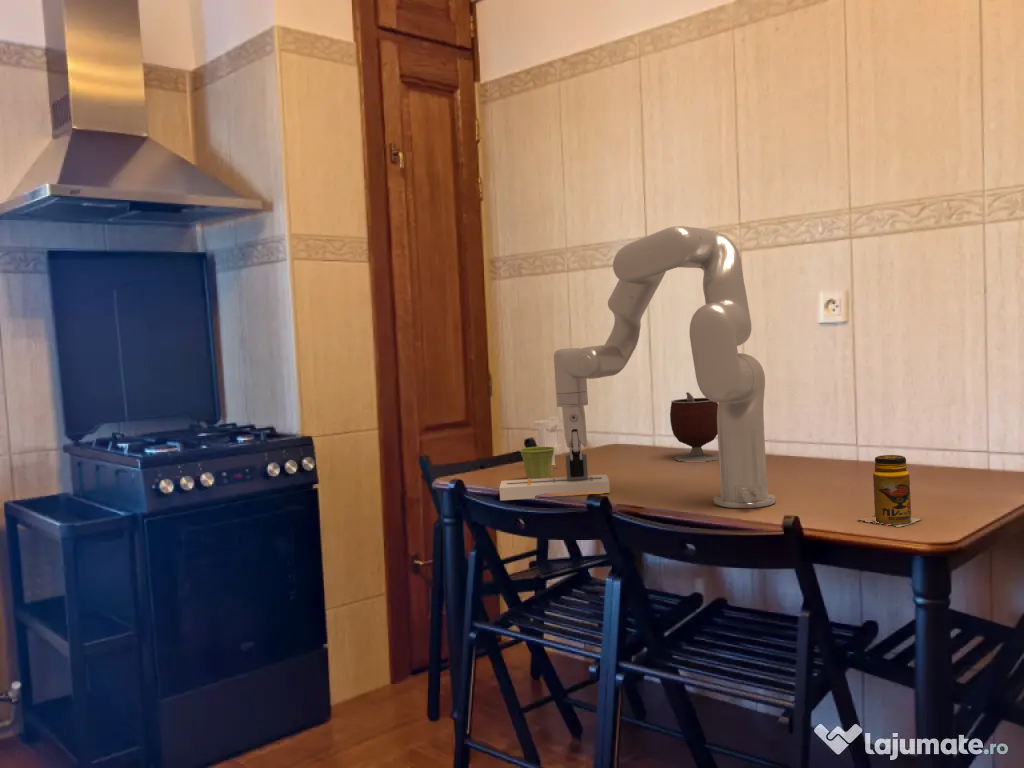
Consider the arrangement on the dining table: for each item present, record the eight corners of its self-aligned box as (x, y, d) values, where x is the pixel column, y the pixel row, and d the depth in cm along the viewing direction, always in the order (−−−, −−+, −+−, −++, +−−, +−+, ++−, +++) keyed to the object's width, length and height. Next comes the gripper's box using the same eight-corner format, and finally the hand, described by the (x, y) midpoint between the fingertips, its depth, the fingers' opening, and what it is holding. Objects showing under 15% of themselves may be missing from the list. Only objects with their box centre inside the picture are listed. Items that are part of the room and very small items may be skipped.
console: (610, 493, 199) (609, 480, 199) (500, 500, 201) (499, 487, 200) (607, 486, 209) (606, 474, 209) (502, 492, 211) (501, 480, 210)
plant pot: (527, 478, 230) (525, 446, 230) (561, 477, 227) (558, 445, 227) (516, 484, 221) (514, 451, 221) (551, 484, 218) (548, 450, 218)
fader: (587, 479, 203) (586, 454, 203) (567, 480, 203) (565, 455, 203) (587, 477, 206) (585, 452, 206) (566, 478, 206) (565, 453, 206)
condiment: (900, 527, 150) (897, 460, 149) (856, 521, 157) (853, 457, 156) (922, 520, 154) (919, 455, 153) (878, 514, 161) (875, 452, 160)
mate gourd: (678, 455, 252) (674, 388, 251) (725, 455, 247) (721, 386, 245) (666, 464, 238) (662, 393, 237) (716, 463, 232) (712, 391, 231)
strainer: (556, 470, 239) (553, 418, 238) (533, 470, 242) (530, 418, 242) (566, 466, 246) (562, 415, 245) (543, 466, 249) (540, 415, 248)
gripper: (589, 401, 195) (594, 480, 196) (586, 396, 212) (590, 469, 213) (556, 403, 196) (562, 482, 197) (556, 398, 212) (561, 471, 213)
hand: (577, 474), depth 205 cm, fingers closed on fader, 3 cm apart
